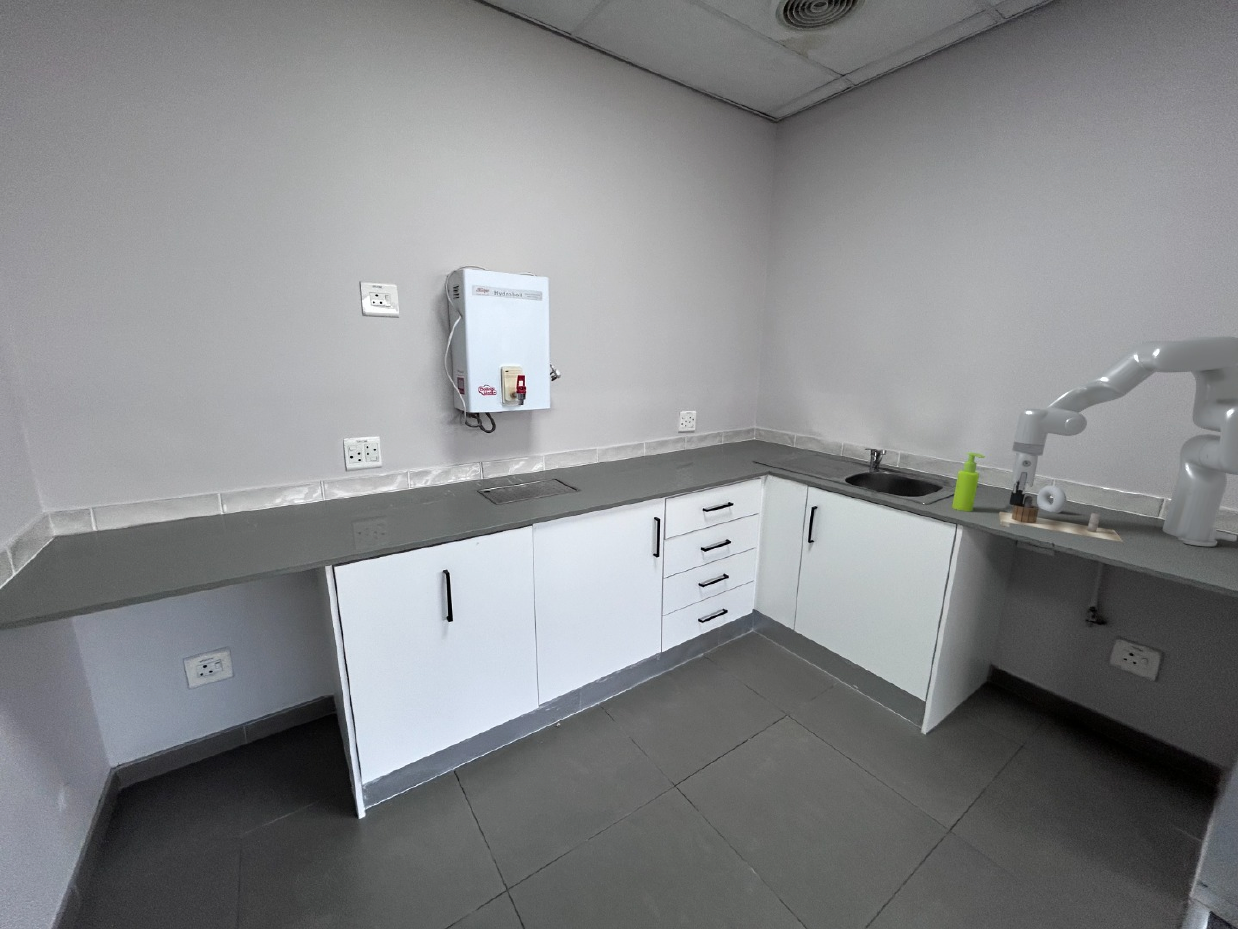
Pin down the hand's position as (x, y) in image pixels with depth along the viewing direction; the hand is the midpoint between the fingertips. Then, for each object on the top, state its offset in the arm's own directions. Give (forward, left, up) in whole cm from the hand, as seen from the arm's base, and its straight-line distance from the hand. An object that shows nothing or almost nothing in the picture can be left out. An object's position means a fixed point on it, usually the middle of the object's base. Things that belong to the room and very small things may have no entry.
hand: (1015, 504), depth 159 cm
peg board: (-11, 0, -6) cm, 12 cm away
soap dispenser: (+13, -7, -6) cm, 16 cm away
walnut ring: (-3, 0, -5) cm, 5 cm away
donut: (-11, -20, -6) cm, 24 cm away
